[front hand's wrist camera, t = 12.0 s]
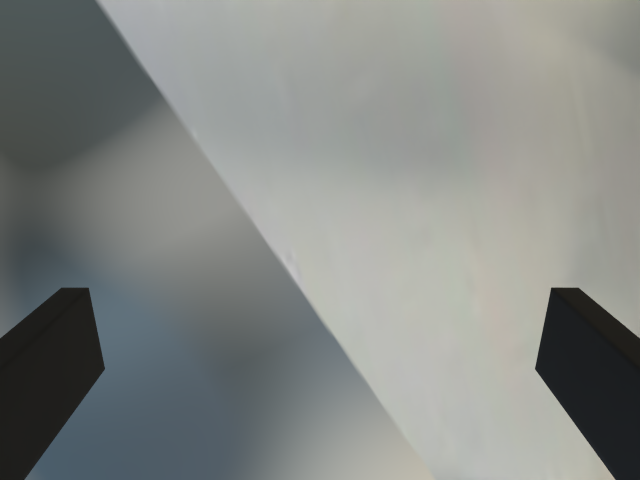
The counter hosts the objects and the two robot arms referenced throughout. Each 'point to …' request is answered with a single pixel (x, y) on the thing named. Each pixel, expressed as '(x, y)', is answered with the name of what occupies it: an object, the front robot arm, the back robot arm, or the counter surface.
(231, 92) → the counter surface
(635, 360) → the front robot arm
